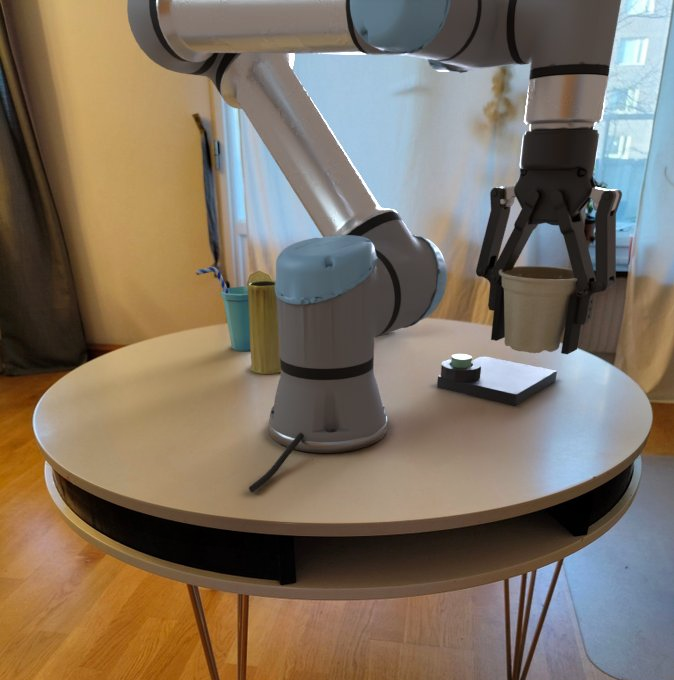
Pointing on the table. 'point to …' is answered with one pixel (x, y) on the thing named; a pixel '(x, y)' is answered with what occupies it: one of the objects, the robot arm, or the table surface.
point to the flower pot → (536, 306)
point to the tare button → (461, 361)
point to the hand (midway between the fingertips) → (532, 344)
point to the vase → (263, 327)
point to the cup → (237, 308)
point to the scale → (496, 379)
